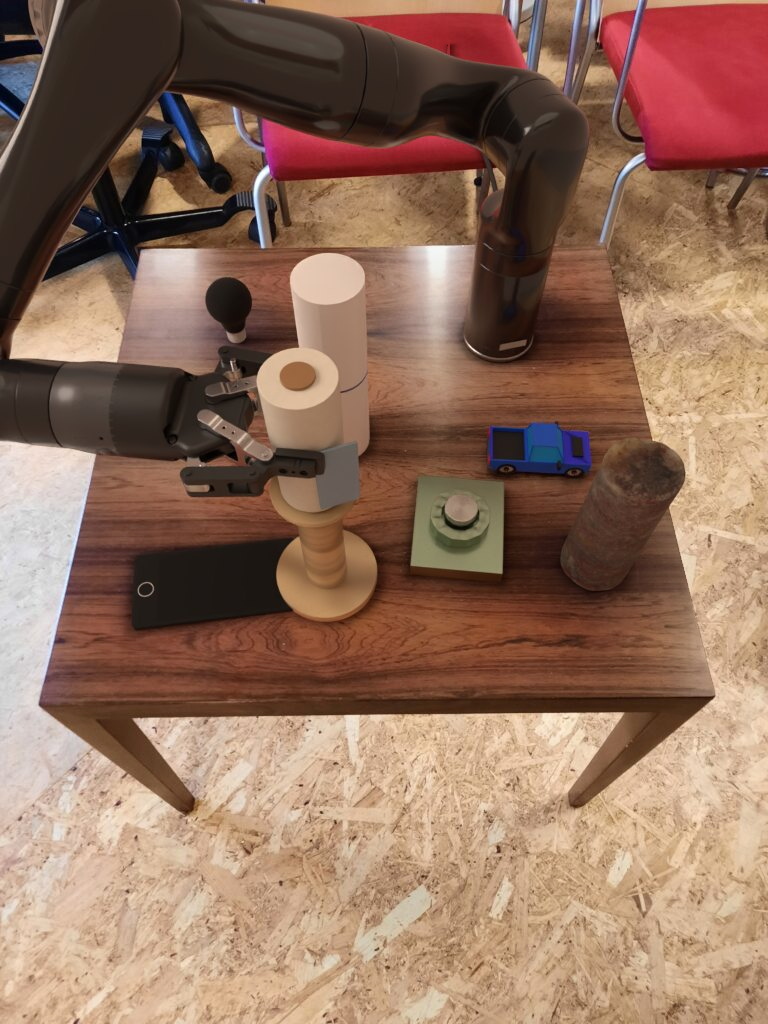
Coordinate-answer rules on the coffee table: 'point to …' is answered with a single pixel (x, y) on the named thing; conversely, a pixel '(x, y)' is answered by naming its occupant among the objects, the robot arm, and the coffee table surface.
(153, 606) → the cell phone
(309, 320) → the cylindrical container
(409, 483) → the coffee table surface
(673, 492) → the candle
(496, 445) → the toy car
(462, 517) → the button
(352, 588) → the towel holder
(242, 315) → the light bulb
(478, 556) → the button box
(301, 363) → the towel roll
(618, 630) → the coffee table surface
